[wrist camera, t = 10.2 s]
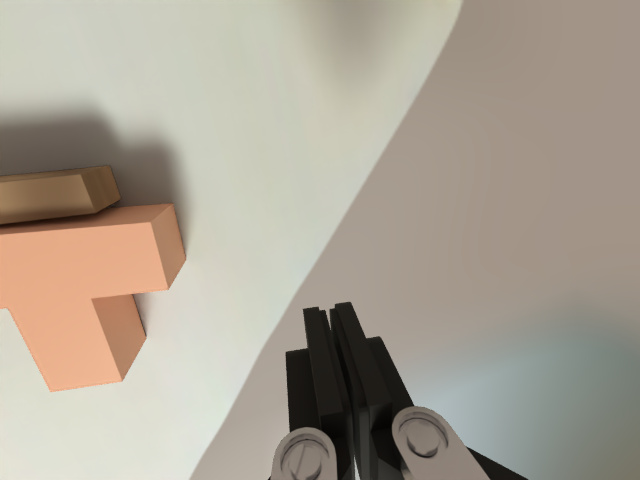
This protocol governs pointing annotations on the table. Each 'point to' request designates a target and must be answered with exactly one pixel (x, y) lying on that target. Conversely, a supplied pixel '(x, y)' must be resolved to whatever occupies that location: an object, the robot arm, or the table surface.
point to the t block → (87, 287)
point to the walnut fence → (56, 194)
